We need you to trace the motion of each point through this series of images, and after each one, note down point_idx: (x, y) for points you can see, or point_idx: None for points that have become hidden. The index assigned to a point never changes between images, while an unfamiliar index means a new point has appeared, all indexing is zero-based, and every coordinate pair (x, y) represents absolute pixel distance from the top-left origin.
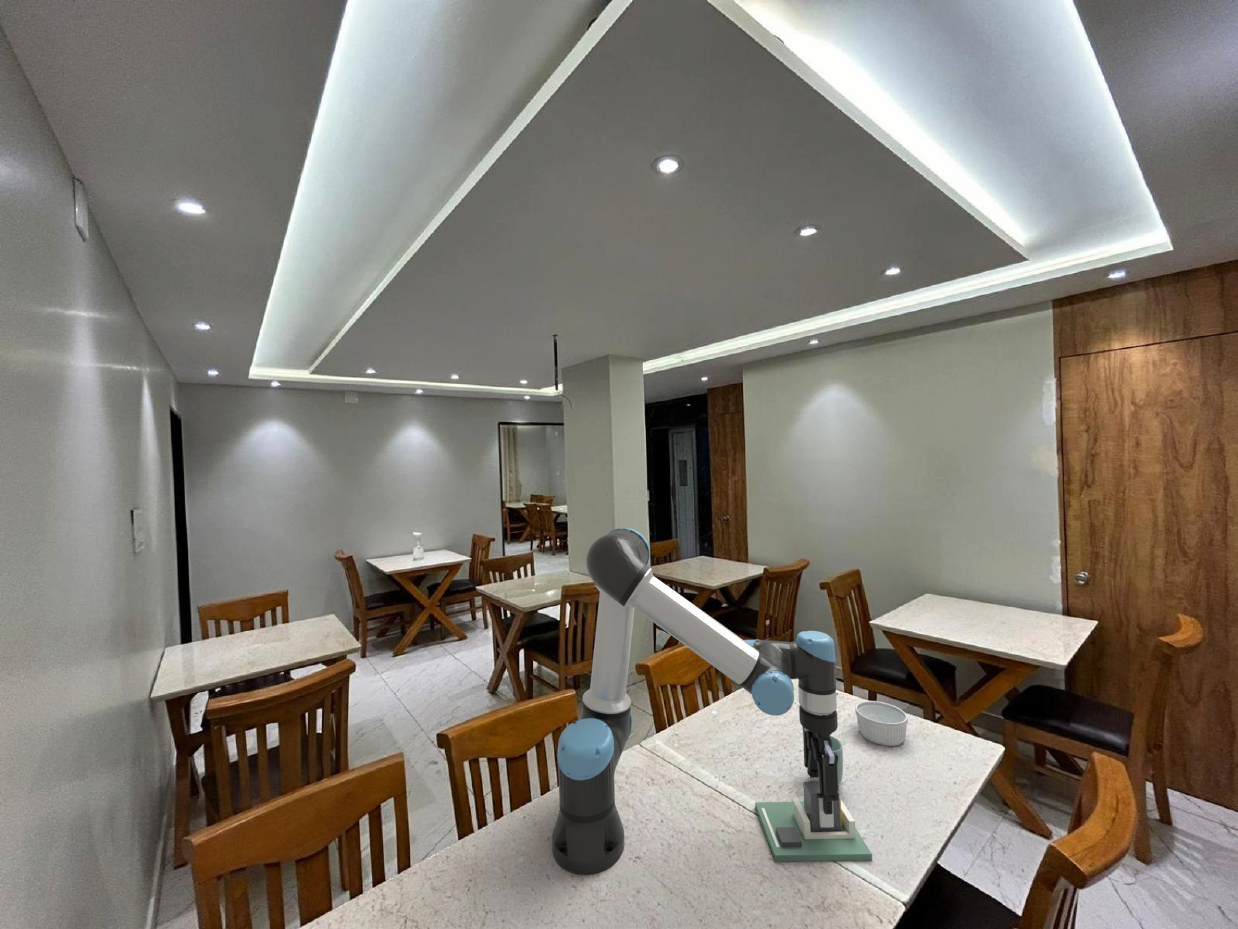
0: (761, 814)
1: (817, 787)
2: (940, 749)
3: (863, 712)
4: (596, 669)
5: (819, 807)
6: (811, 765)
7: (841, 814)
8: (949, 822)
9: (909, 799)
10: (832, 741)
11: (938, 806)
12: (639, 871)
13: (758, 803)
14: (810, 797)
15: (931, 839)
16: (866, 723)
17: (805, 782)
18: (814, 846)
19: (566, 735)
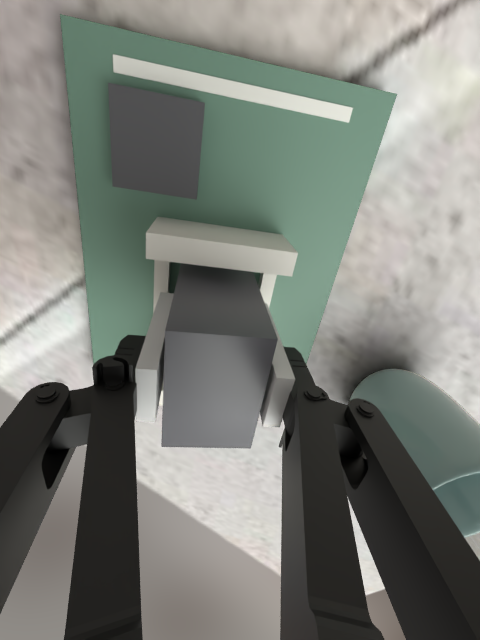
0: (320, 87)
1: (215, 384)
2: (365, 572)
3: None
4: None
5: (155, 331)
6: (298, 454)
7: None
8: (202, 521)
9: (271, 499)
10: (458, 517)
11: (242, 524)
12: None
13: (384, 109)
14: (171, 320)
15: (163, 485)
16: (478, 555)
17: (268, 347)
18: (120, 234)
19: None
